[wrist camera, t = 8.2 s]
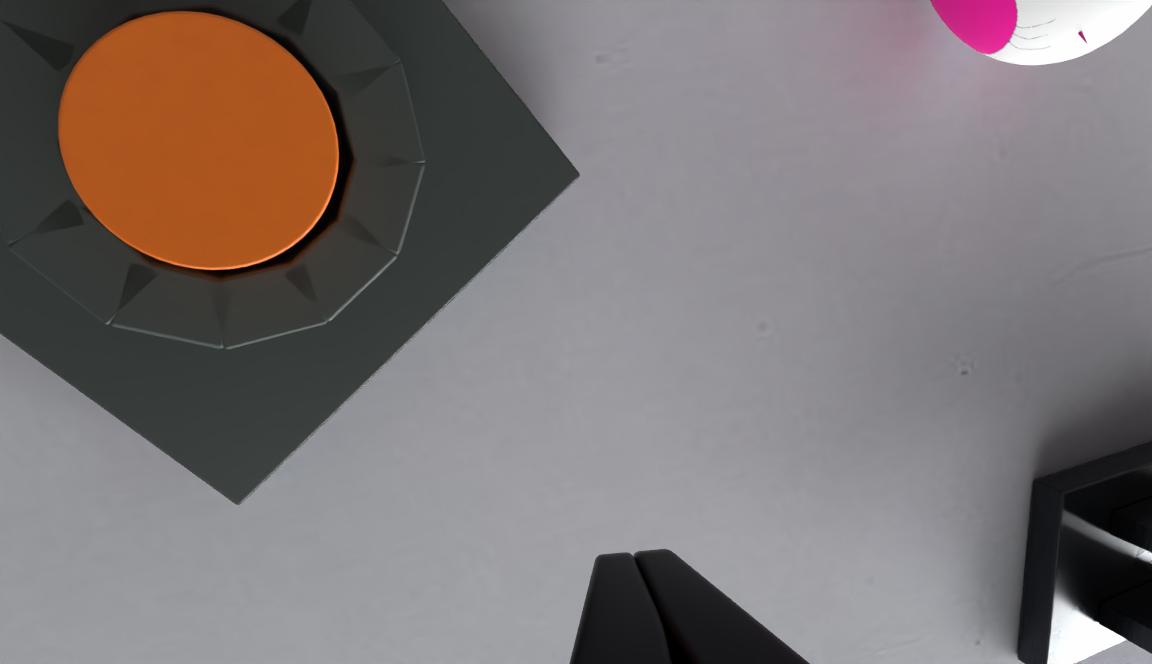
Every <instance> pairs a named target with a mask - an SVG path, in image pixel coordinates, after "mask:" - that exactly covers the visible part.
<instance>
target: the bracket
mask: <svg viewBox="0 0 1152 664" xmlns="http://www.w3.org/2000/svg"><path fill="white" fill-rule="evenodd" d="M1126 639H1127V640H1128V641H1130V642H1132V643H1134V644H1136V645H1137V646H1139V647H1141V648H1143V649H1144V650H1146V651H1148V652H1150V653H1152V442H1151V443H1148V444H1145V445H1142V446H1139V447H1136V448H1133V449H1130V450H1127V451H1123V452H1120V453H1117V454H1114V455H1111V456H1108V457H1105V458H1102V459H1099V460H1096V461H1093V462H1090V463H1086V464H1083V465H1080V466H1077V467H1074V468H1071V469H1068V470H1065V471H1062V472H1059V473H1056V474H1052V475H1049V476H1046V477H1043V478H1040V479H1037V480H1035V481H1034V483H1033V494H1032V505H1031V516H1030V527H1029V538H1028V549H1027V560H1026V571H1025V581H1024V592H1023V603H1022V614H1021V625H1020V636H1019V647H1018V659H1019V660H1020V661H1022V662H1023V663H1025V664H1074V663H1076V662H1078V661H1080V660H1082V659H1085V658H1087V657H1089V656H1091V655H1093V654H1096V653H1098V652H1100V651H1102V650H1104V649H1107V648H1109V647H1111V646H1113V645H1115V644H1118V643H1120V642H1122V641H1124V640H1126Z"/></svg>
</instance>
